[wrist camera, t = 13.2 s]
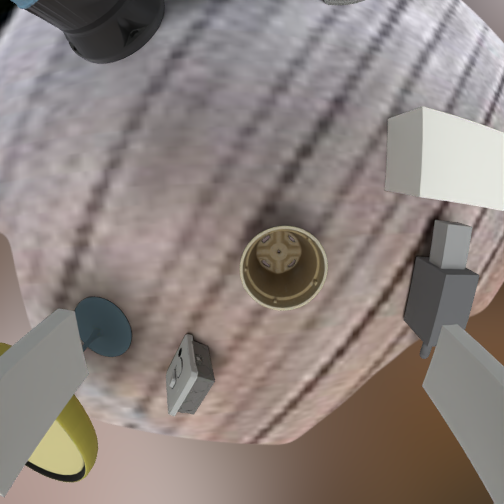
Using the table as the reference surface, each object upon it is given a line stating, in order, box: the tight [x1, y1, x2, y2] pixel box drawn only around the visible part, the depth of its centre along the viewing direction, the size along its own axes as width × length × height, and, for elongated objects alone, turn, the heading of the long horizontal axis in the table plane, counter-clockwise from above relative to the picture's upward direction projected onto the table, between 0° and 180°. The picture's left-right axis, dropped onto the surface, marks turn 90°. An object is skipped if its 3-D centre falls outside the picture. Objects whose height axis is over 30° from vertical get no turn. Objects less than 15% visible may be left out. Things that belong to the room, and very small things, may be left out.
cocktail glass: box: [0, 297, 132, 482], centre depth 33 cm, size 18×18×25 cm
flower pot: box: [240, 226, 328, 311], centre depth 37 cm, size 9×9×9 cm
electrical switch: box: [166, 334, 215, 416], centre depth 42 cm, size 9×5×9 cm, turn 152°
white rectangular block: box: [385, 107, 504, 211], centre depth 33 cm, size 10×18×10 cm, turn 87°
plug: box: [404, 220, 479, 359], centre depth 38 cm, size 20×6×8 cm, turn 177°
